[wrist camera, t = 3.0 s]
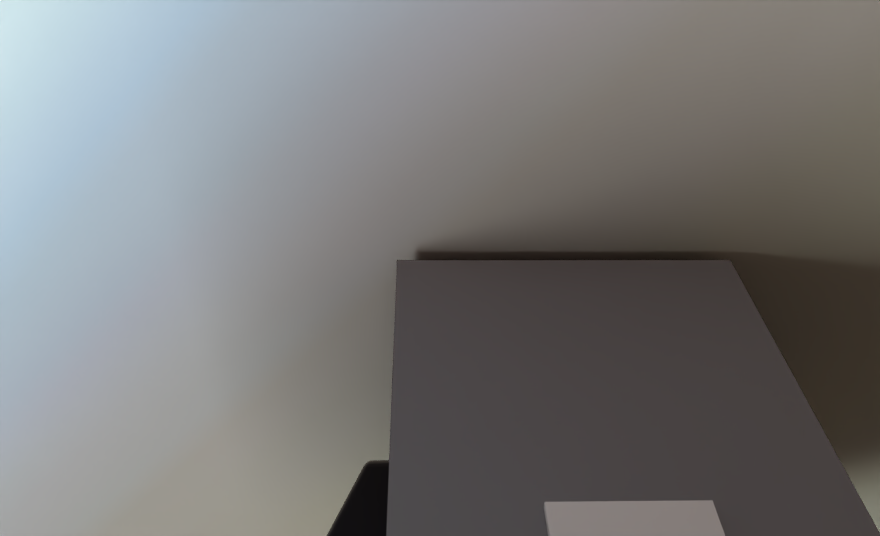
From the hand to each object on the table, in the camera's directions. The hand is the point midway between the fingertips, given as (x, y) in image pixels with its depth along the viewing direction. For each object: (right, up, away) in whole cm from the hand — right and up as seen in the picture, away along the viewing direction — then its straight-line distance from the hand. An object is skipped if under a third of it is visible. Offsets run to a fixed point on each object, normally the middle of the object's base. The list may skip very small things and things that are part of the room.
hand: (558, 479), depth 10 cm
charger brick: (0, +1, +1) cm, 1 cm away
